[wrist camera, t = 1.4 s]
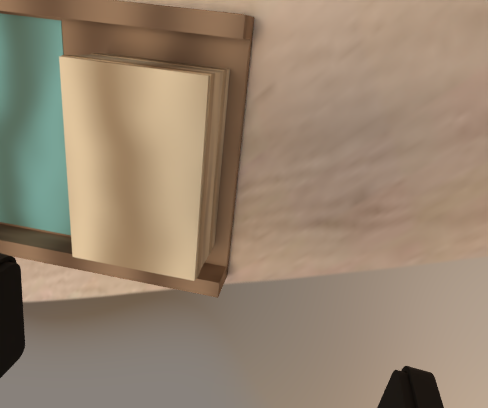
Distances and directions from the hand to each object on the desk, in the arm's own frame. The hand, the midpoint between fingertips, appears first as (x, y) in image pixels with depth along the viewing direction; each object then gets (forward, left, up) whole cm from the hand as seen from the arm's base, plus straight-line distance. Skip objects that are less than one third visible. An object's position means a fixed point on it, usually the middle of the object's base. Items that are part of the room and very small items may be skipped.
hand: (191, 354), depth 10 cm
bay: (+13, +1, -19) cm, 23 cm away
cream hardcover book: (+7, +1, -18) cm, 19 cm away
